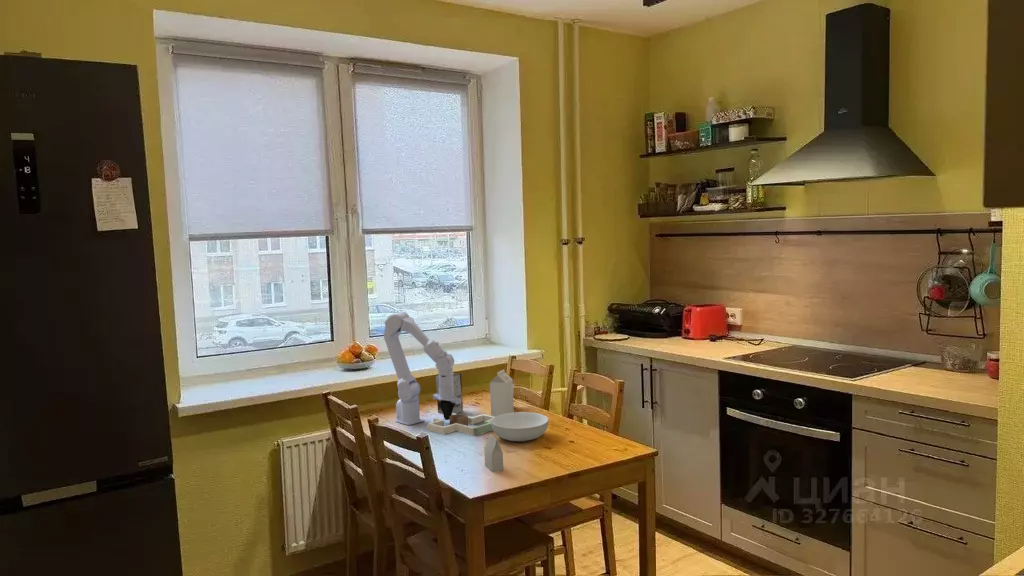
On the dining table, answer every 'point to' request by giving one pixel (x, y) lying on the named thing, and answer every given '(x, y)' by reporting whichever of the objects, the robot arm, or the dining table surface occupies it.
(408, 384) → the robot arm
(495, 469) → the gray house block
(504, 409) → the milk carton
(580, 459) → the dining table surface
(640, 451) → the dining table surface
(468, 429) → the trap channel
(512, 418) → the serving bowl
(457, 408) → the coffee box
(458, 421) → the walnut block
